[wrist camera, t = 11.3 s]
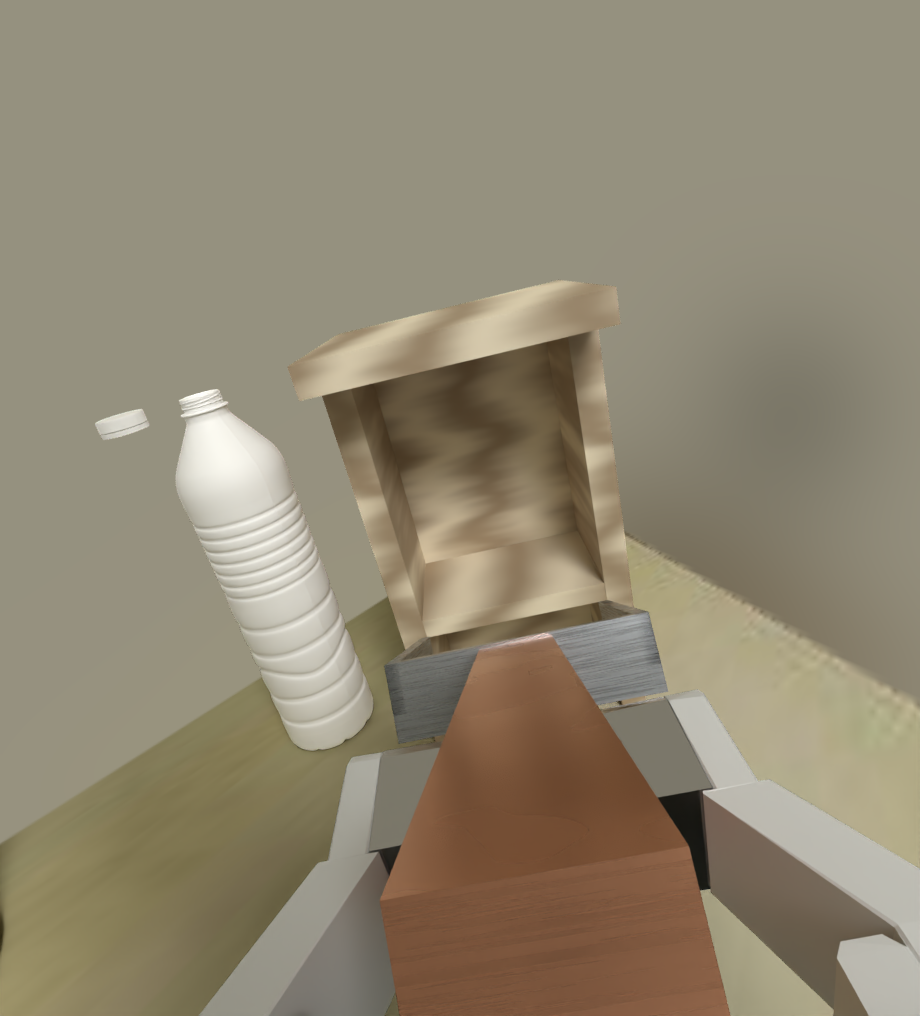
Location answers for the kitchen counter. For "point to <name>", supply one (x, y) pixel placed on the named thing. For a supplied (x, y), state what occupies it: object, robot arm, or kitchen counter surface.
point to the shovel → (541, 837)
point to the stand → (483, 461)
